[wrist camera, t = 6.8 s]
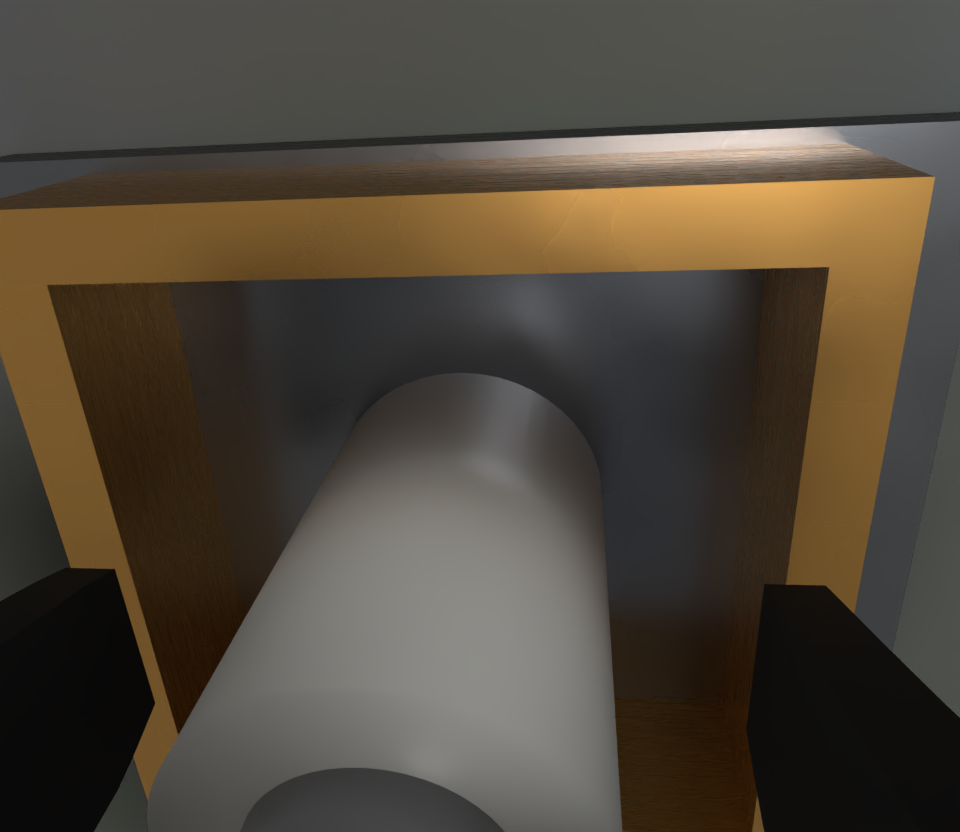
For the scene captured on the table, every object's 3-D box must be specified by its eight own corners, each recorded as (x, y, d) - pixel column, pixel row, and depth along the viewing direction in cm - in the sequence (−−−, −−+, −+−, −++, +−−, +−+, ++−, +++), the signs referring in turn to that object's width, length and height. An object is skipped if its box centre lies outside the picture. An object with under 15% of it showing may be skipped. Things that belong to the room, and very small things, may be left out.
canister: (599, 605, 13) (624, 1173, 6) (354, 598, 13) (149, 1118, 7) (604, 372, 11) (646, 831, 5) (322, 373, 11) (6, 791, 5)
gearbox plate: (788, 1029, 18) (832, 1234, 15) (252, 982, 20) (191, 1159, 17) (968, 112, 10) (1150, 145, 7) (11, 154, 11) (-201, 197, 8)
